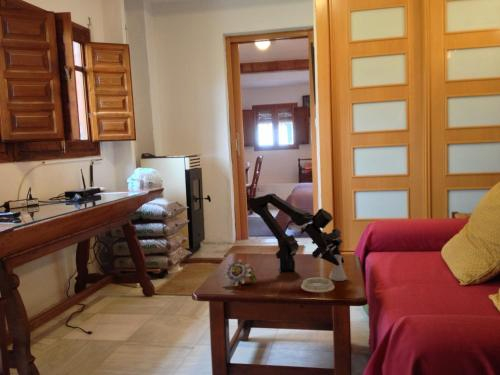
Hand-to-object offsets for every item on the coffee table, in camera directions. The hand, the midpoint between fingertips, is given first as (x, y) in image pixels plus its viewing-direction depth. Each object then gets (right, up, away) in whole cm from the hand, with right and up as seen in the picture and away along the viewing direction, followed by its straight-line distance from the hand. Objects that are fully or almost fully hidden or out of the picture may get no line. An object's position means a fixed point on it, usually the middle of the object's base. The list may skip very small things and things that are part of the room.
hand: (341, 263), depth 179 cm
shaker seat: (-11, -8, -8) cm, 16 cm away
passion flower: (-42, -8, 0) cm, 43 cm away
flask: (-1, -7, +1) cm, 7 cm away
